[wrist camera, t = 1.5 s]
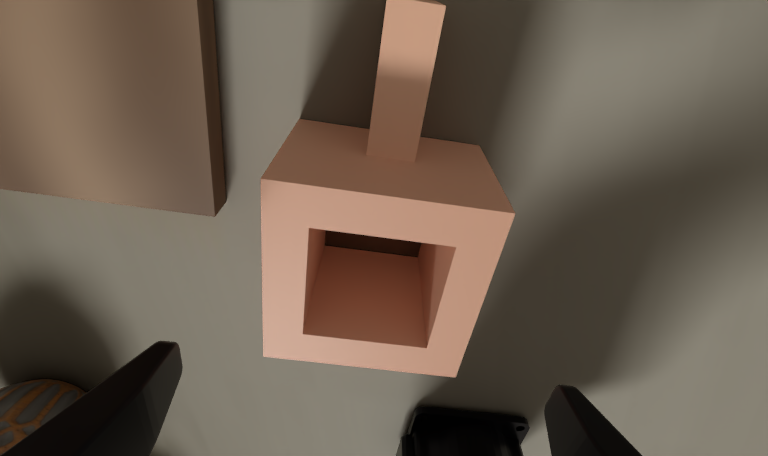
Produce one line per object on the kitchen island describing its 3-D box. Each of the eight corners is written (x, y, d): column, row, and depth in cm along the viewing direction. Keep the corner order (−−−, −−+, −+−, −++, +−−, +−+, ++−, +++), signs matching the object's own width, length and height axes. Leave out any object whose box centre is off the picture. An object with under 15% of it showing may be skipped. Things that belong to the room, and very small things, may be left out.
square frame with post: (440, 283, 18) (455, 377, 14) (293, 265, 18) (263, 356, 13) (516, 14, 12) (580, 33, 8) (304, -22, 12) (257, -22, 8)
